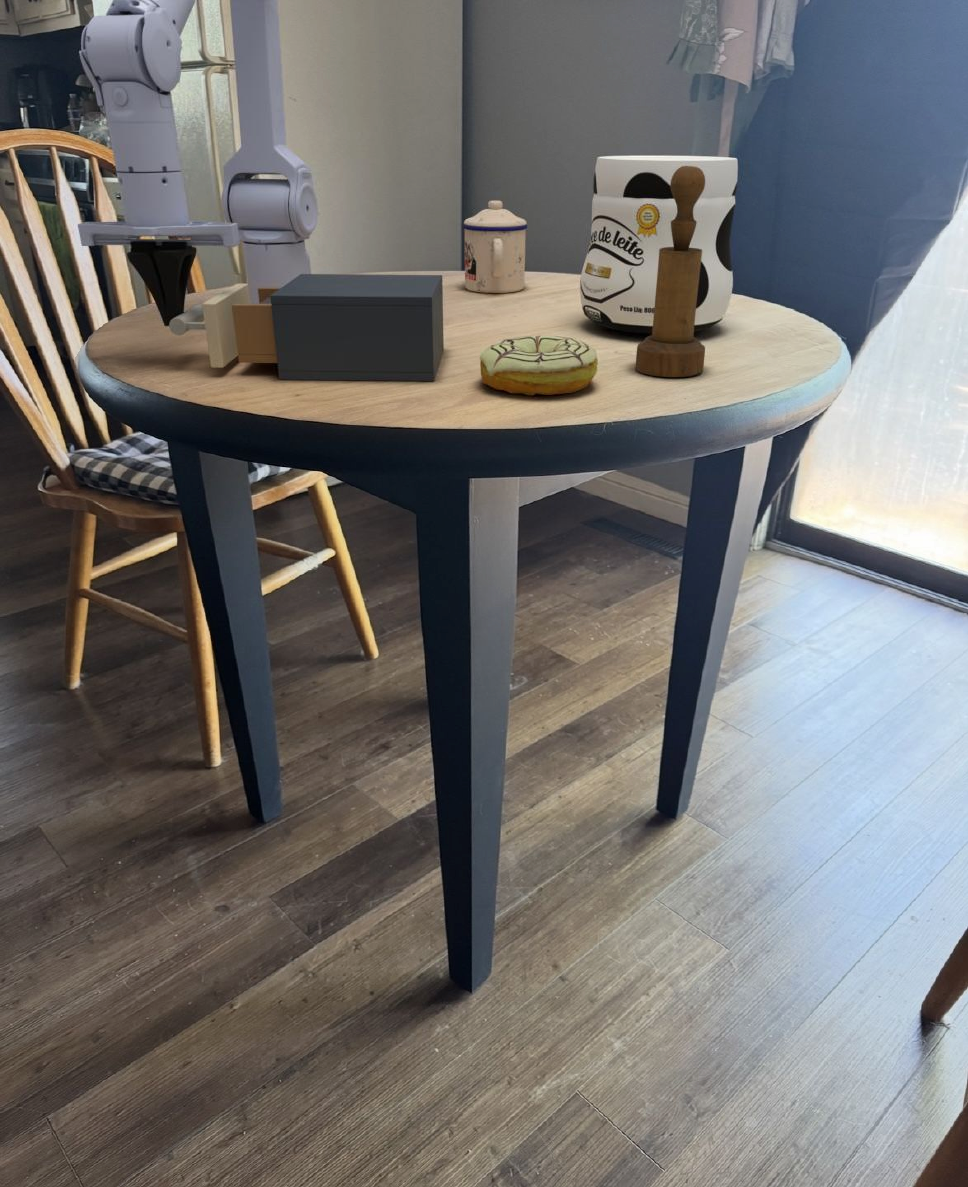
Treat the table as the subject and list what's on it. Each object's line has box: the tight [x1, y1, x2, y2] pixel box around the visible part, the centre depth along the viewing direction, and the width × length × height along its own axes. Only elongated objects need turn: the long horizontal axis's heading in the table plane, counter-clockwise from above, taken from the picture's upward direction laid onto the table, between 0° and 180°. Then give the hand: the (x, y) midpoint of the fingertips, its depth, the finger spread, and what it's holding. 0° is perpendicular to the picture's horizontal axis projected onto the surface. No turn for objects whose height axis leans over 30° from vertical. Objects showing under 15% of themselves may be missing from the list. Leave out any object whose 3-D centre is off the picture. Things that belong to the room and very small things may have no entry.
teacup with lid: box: [462, 200, 528, 294], centre depth 123 cm, size 12×9×12 cm
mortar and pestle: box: [635, 166, 706, 378], centre depth 82 cm, size 7×6×18 cm
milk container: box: [579, 154, 739, 335], centre depth 99 cm, size 17×17×18 cm
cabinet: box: [270, 273, 445, 382], centre depth 86 cm, size 15×13×8 cm
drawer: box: [168, 283, 282, 368], centre depth 86 cm, size 18×11×6 cm, turn 88°
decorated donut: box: [479, 335, 599, 396], centre depth 80 cm, size 10×11×4 cm
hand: (174, 324), depth 86 cm, fingers closed
